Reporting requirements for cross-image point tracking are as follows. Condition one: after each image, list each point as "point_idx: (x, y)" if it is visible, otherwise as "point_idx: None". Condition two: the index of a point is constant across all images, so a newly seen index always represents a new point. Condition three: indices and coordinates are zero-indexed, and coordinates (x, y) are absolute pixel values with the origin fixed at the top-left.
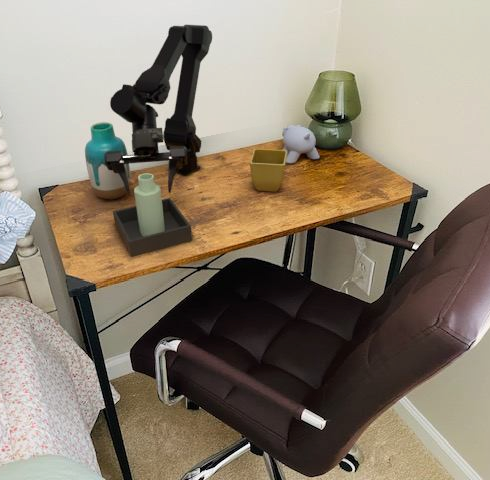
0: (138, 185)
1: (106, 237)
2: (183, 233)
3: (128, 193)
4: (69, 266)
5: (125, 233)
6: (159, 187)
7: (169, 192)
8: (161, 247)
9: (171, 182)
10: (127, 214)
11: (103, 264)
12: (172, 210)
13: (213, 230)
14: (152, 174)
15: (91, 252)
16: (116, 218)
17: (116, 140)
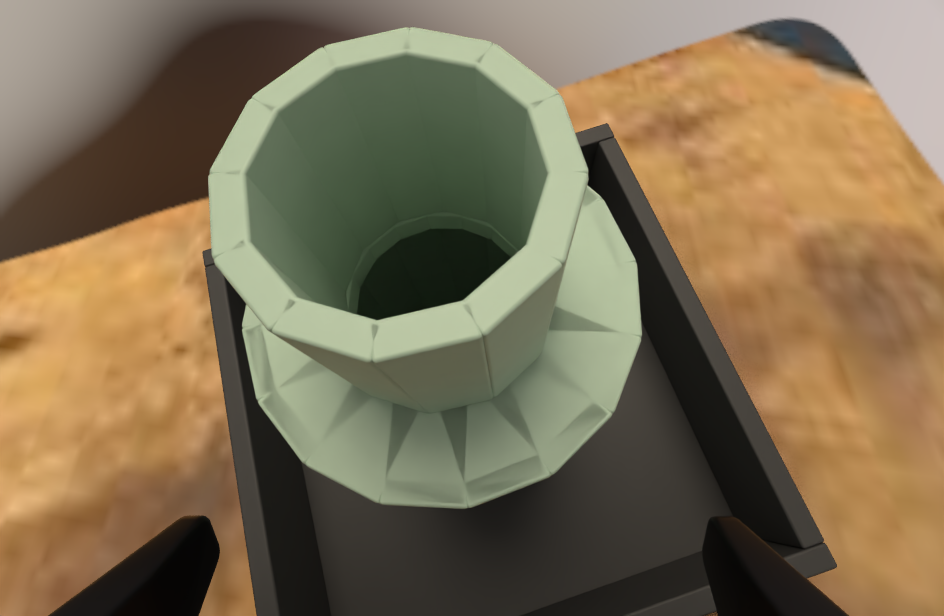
0: (588, 431)
1: (783, 395)
2: None
3: (732, 524)
4: (908, 144)
5: (645, 208)
6: (256, 318)
7: (207, 535)
8: None
9: (68, 604)
10: (686, 574)
11: (726, 146)
12: (305, 596)
13: (115, 385)
14: (219, 266)
15: (829, 248)
16: (765, 427)
17: None
